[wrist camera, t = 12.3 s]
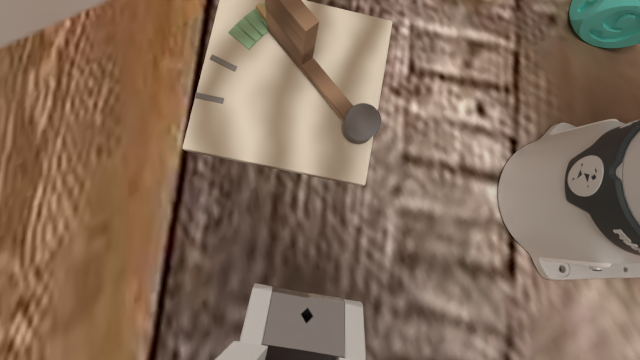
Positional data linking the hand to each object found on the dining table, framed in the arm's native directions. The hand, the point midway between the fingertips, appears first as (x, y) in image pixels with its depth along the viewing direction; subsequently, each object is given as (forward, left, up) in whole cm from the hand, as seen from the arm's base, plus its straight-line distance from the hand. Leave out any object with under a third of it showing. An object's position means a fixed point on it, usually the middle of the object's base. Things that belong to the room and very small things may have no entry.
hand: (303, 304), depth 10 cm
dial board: (+3, -18, -29) cm, 35 cm away
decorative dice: (-34, -36, -30) cm, 58 cm away
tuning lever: (+1, -19, -28) cm, 34 cm away
